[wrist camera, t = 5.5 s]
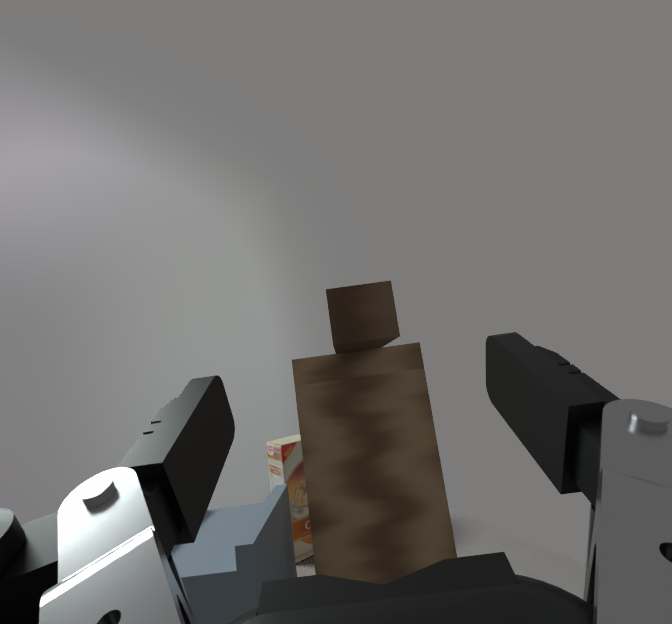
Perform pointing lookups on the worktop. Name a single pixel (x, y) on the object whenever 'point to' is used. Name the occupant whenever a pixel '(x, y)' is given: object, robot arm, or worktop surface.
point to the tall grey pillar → (237, 557)
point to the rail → (362, 316)
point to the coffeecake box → (292, 489)
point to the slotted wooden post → (371, 464)
